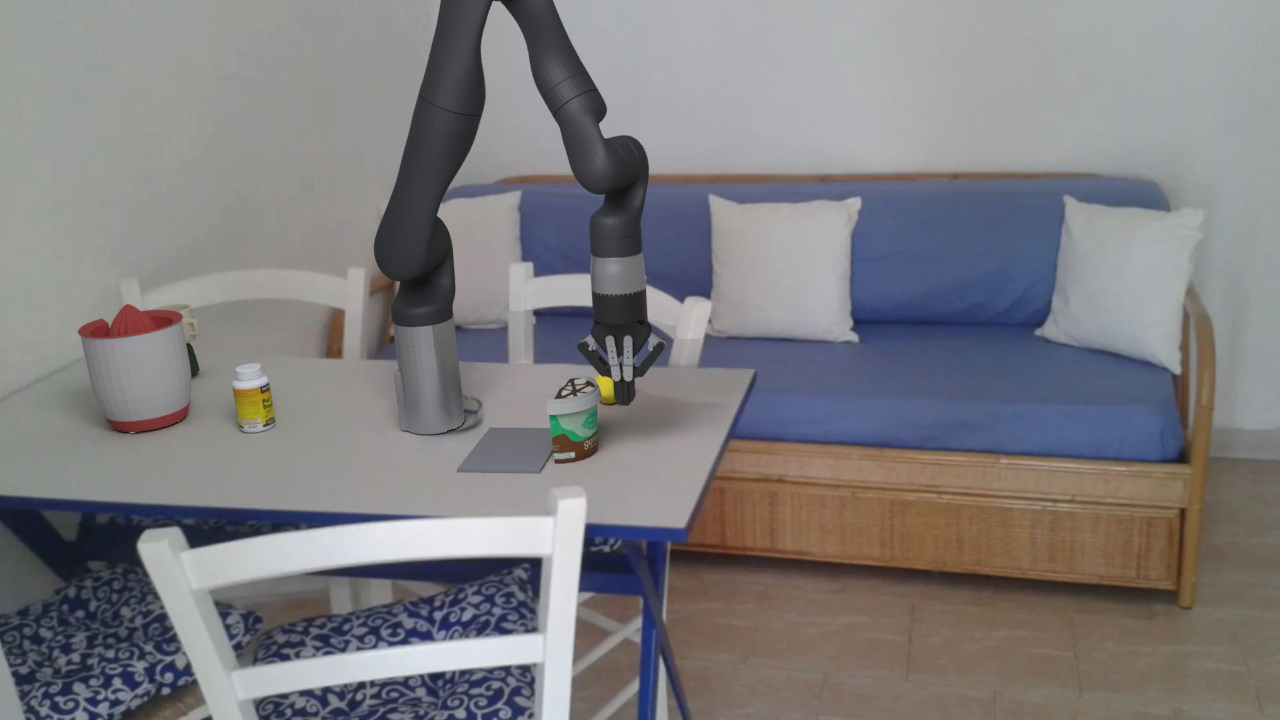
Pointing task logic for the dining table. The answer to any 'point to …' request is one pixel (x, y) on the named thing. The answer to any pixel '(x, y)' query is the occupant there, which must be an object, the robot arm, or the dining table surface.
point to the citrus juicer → (139, 368)
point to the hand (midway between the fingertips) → (625, 403)
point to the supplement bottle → (253, 399)
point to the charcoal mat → (510, 451)
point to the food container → (574, 419)
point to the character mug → (187, 330)
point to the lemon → (606, 389)
